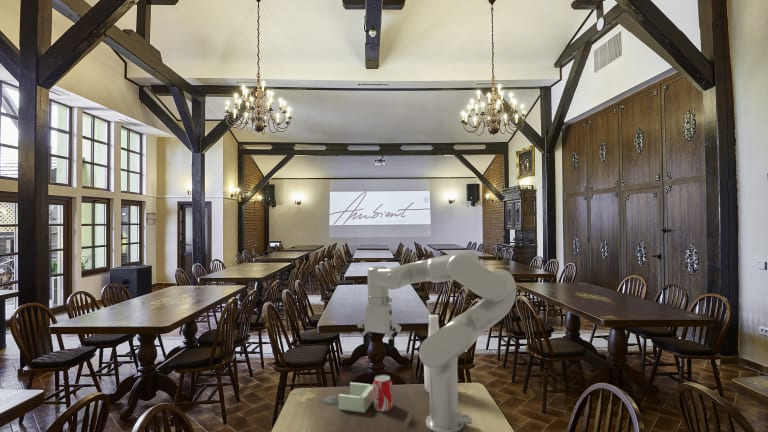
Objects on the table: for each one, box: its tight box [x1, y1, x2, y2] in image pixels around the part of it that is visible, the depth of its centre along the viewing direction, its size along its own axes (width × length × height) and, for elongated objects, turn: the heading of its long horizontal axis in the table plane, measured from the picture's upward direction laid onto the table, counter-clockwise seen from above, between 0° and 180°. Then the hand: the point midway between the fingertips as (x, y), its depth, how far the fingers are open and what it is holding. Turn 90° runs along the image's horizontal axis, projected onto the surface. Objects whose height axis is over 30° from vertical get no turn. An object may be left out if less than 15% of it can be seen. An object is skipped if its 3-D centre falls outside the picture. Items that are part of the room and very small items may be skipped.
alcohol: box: [423, 314, 440, 393], centre depth 166 cm, size 9×9×30 cm
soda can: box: [372, 374, 394, 412], centre depth 149 cm, size 7×7×12 cm
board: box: [322, 395, 339, 406], centre depth 154 cm, size 16×12×2 cm
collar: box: [337, 381, 374, 413], centre depth 152 cm, size 10×12×5 cm
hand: (378, 347), depth 149 cm, fingers open, 9 cm apart
